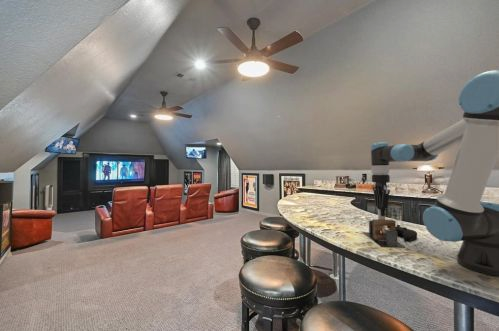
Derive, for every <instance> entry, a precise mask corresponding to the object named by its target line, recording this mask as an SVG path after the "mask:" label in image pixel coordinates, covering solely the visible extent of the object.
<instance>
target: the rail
mask: <svg viewBox="0 0 499 331" xmlns="http://www.w3.org/2000/svg"><path fill="white" fill-rule="evenodd" d="M380 227H381V233H383V234H385V235H386V240H375V239H374V238H373V219H369V220H368V232H367V231H363V232H362V233H363V234H364V235H365V236H366V237H368V238H369V239H370V240H372V241H373V242H374V243H375V244H377V245H378V246H380V248H405V249H406V246H404V245H403V244H401V243H400V242H399V241H398V233H397V231H394V230H390V228H388V227H387V226H380Z"/></svg>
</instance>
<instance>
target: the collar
mask: <svg viewBox="0 0 499 331" xmlns="http://www.w3.org/2000/svg"><path fill="white" fill-rule="evenodd" d="M372 220H373V238H374V239H375V240H386V235H385V234H383V233H381V227H380V226H386V227H388V228H390V230H394V231H396V226H397V223H396V220H395V219H385V220H384V219H378V218H376V219H373V218H372Z"/></svg>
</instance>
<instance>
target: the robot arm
mask: <svg viewBox="0 0 499 331" xmlns="http://www.w3.org/2000/svg"><path fill="white" fill-rule="evenodd" d="M458 105H459V106H460V108H461V110H463V115H462V119H461V120H460V121H457V122H456V123H454V124H452V125H451V126H449V127H447V128H445V129H443V130H441V131H440V132H437V134H435V135H433V136H431V137H429V138H427V139H426V140H424V141H422V142H420V143H418V144H409V143H408V144H407V143H399V144H398V143H397V144H394V145H389V142H385V141H384V142H374V143H372V144H371V146H370V147H371V148H370V159H371V174H372V175H371V182H372V183H374V186H373V187H372V190H373V196H374V205H375V207H376V208H377V219H384V220H386V209H388V208H389V201H390V200H389V197H390V193H391V190H390V189H389V188H388V185H387V183H390V180H391V179H390V178H391V176H390V175H389V174H390V169H391V168H390V163H392V162H393V163H397V162H398V163H400V162H401V163H404V162H430V161H434V160H436V159H437V158H438V156H439V155H440V154H442V153H443V152H446V151H448V150H451V149H452V148H454V147H456V146H457V147H458V146H459V148H458V152H457V154H456V157H455V160H454V164H453V166H452V169H451V173H450V176H449V179H448V182H447V185H446V189H445V191H444V193H443V194H441V195H438V196H437V198H436V200H435V203H434V206H433V205H432V206H430V207H427V208H425V210H424V211H423V214H422V221H423V225H424V226H425V227H426V230H427V231H428V233H429V234H430V235H431V236H433V237H434V238H435V239H437V240H439V241H443V242H451V243H452V242H453V243H457V242H461V241H462V243H461V246H460V248H459V249H458V252H457V254H456V262H457V263H458V264H459V265H460V266H462V267H464V268H466V269H469V270H471V271H474V272H478V273H480V272H481V273H480V274H484V273H485V275H488V274H490V276H493V275H494V276H493V277H499V203H496V202H486V201H481V200H482V197H483V195H484V192H485V189H486V186H488V182H489V179H490V177H491V174H492V172H493V169H494V166H495V163H496V160H497V158H498V156H499V69H494V70H488V71H484V72H482V73H479V74H477V75H476V76H474V77H473V78H470V80H468V82H466V83H465V84H464V86H463V87H462V88H461V90H460V92H459V94H458Z"/></svg>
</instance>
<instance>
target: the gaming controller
mask: <svg viewBox="0 0 499 331" xmlns="http://www.w3.org/2000/svg"><path fill="white" fill-rule="evenodd" d="M396 231H397V235H402V234H403V239H404V241H405V242H412V240H416V239H417V238H418V232H417V231H416V230H414V229H409V228H407V227H405V226H401V225H400V224H396Z"/></svg>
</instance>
